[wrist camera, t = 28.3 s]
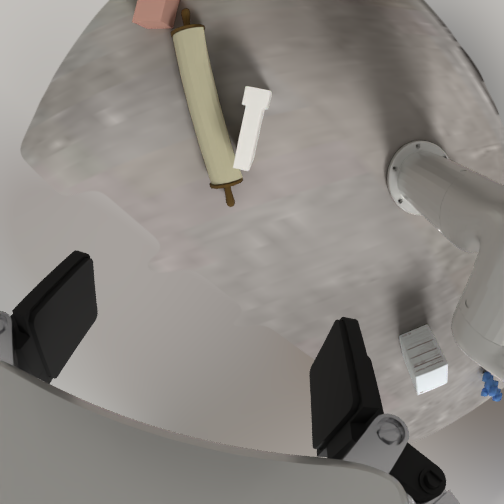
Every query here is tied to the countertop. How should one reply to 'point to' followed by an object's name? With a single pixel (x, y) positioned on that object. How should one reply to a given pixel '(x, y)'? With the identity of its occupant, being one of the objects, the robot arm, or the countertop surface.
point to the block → (156, 13)
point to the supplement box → (424, 359)
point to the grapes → (491, 387)
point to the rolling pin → (205, 106)
